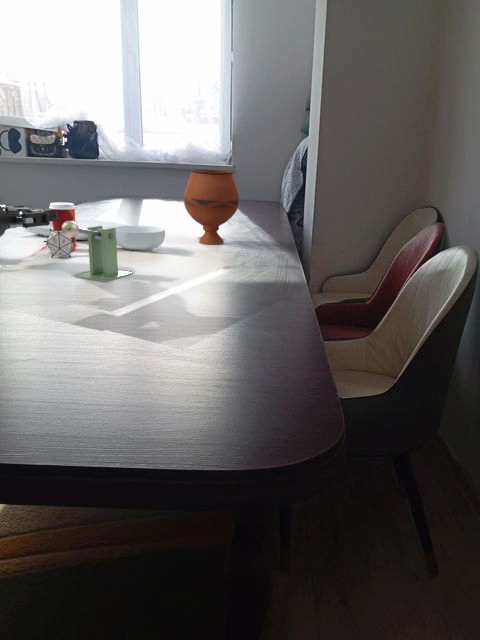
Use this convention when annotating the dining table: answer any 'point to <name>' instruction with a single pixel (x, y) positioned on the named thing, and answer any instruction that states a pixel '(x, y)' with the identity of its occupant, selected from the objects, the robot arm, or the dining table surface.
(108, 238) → the bracket
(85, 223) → the square plate
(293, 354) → the dining table surface
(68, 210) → the paper cup
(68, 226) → the lever
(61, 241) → the game die
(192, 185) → the goblet
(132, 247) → the cereal bowl
